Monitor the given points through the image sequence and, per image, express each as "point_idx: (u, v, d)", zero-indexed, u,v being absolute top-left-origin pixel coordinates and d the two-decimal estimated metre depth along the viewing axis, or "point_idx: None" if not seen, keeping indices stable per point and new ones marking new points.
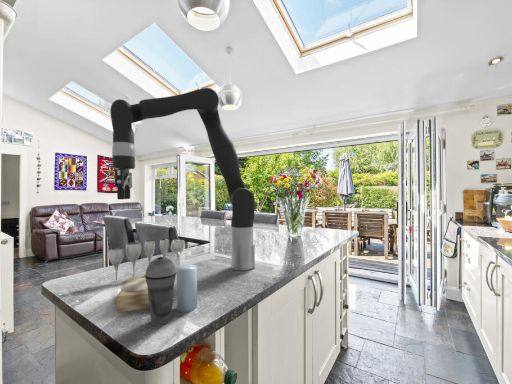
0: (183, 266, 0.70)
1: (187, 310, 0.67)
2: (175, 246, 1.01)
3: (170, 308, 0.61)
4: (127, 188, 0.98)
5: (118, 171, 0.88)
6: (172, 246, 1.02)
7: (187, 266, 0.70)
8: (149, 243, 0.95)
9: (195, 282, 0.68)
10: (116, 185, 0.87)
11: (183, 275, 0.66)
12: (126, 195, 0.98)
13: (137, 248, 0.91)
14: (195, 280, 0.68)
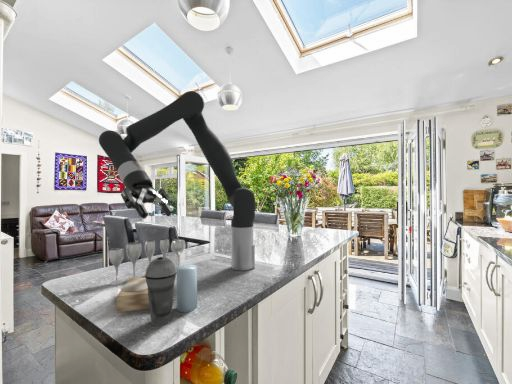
0: (183, 266, 0.70)
1: (187, 310, 0.67)
2: (175, 246, 1.01)
3: (170, 308, 0.61)
4: (163, 204, 0.80)
5: (122, 192, 0.73)
6: (172, 246, 1.02)
7: (187, 266, 0.70)
8: (149, 243, 0.95)
9: (195, 282, 0.68)
10: (129, 206, 0.71)
11: (183, 275, 0.66)
12: (166, 211, 0.79)
13: (137, 248, 0.91)
14: (195, 280, 0.68)
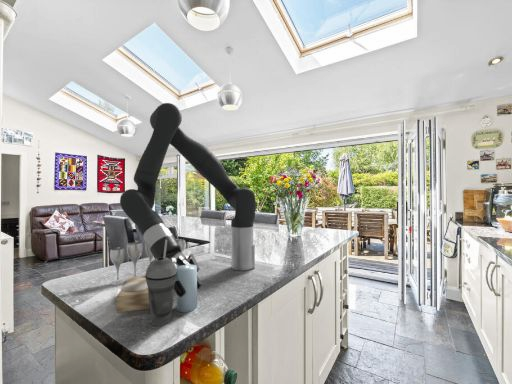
0: (183, 266, 0.70)
1: (187, 310, 0.67)
2: None
3: (170, 308, 0.61)
4: None
5: None
6: None
7: (187, 266, 0.70)
8: None
9: (195, 282, 0.68)
10: None
11: (183, 275, 0.66)
12: None
13: (138, 248, 0.91)
14: (195, 280, 0.68)
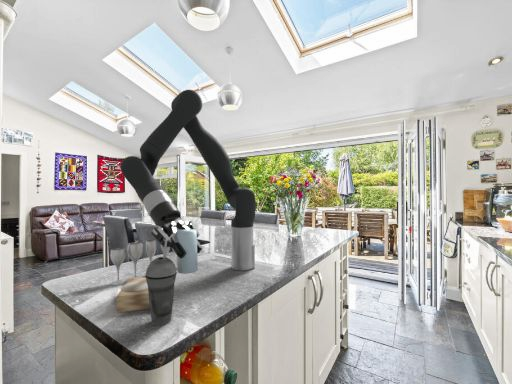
0: (183, 230, 0.70)
1: (188, 272, 0.67)
2: None
3: (170, 308, 0.61)
4: None
5: (153, 231, 0.66)
6: None
7: (187, 230, 0.70)
8: (150, 243, 0.95)
9: (195, 245, 0.68)
10: None
11: (183, 237, 0.66)
12: None
13: (138, 248, 0.91)
14: (195, 243, 0.68)
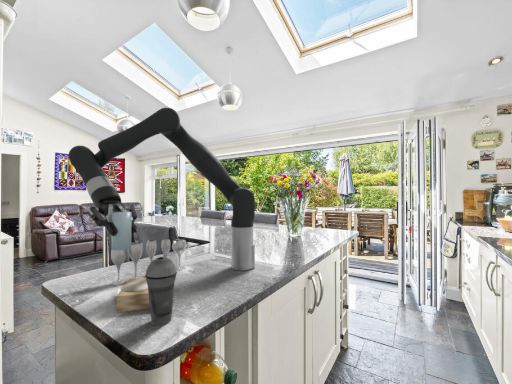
0: None
1: (119, 248, 0.75)
2: (177, 246, 1.02)
3: (170, 308, 0.61)
4: None
5: (89, 211, 0.74)
6: (174, 246, 1.02)
7: None
8: (151, 243, 0.95)
9: (128, 225, 0.76)
10: (99, 224, 0.73)
11: (116, 217, 0.74)
12: (131, 228, 0.79)
13: (139, 248, 0.91)
14: (128, 223, 0.76)
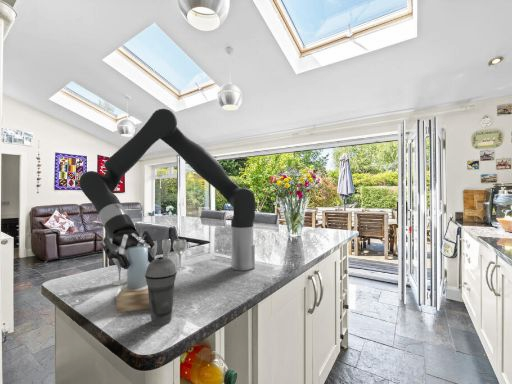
0: (135, 246, 0.74)
1: (135, 287, 0.71)
2: (177, 246, 1.02)
3: (170, 308, 0.61)
4: None
5: (102, 242, 0.70)
6: (174, 246, 1.02)
7: (138, 246, 0.74)
8: None
9: (145, 261, 0.73)
10: (110, 257, 0.69)
11: (132, 254, 0.71)
12: (149, 257, 0.76)
13: None
14: (145, 259, 0.73)
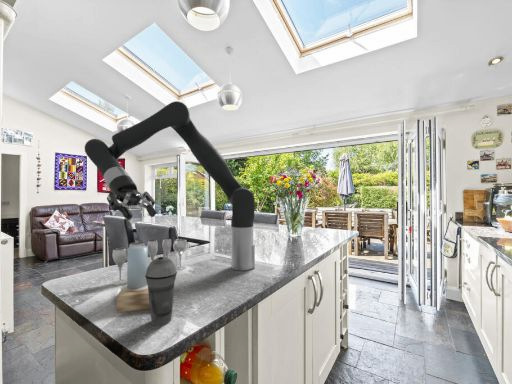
0: (135, 246, 0.75)
1: (135, 287, 0.71)
2: (178, 246, 1.02)
3: (170, 308, 0.61)
4: (147, 206, 0.86)
5: (108, 196, 0.79)
6: (175, 246, 1.02)
7: (138, 246, 0.74)
8: (152, 243, 0.95)
9: (144, 261, 0.73)
10: (114, 209, 0.77)
11: (132, 254, 0.71)
12: (151, 212, 0.85)
13: None
14: (144, 259, 0.73)
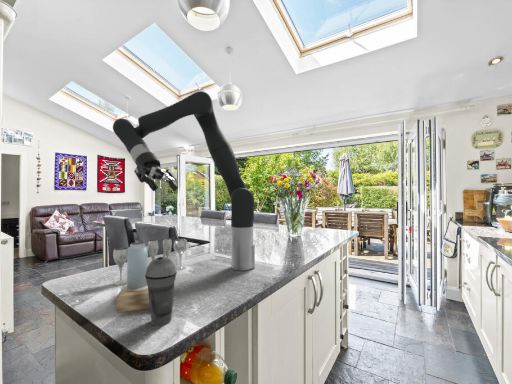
0: (135, 246, 0.75)
1: (135, 287, 0.71)
2: (178, 246, 1.02)
3: (170, 308, 0.61)
4: (170, 181, 0.93)
5: (135, 169, 0.85)
6: (175, 246, 1.02)
7: (138, 246, 0.75)
8: (153, 243, 0.95)
9: (144, 261, 0.73)
10: (141, 180, 0.84)
11: (132, 254, 0.71)
12: (173, 187, 0.92)
13: None
14: (144, 259, 0.73)
